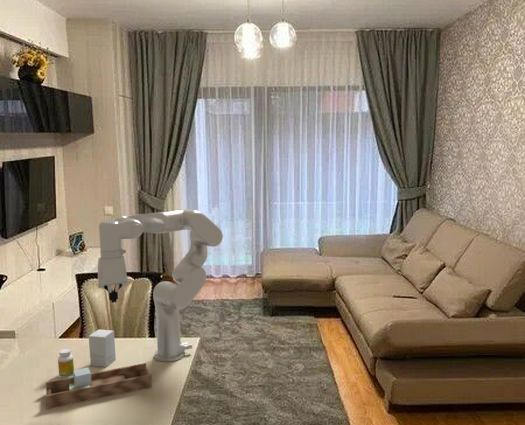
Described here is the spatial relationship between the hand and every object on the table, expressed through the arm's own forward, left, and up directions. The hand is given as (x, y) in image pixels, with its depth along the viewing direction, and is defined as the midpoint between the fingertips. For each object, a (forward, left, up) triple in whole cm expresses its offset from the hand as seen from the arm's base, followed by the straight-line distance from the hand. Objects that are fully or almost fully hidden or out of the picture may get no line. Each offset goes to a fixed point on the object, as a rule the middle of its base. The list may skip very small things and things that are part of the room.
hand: (113, 301), depth 181 cm
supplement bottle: (+18, -8, -29) cm, 35 cm away
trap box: (+7, +10, -29) cm, 32 cm away
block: (+13, +11, -27) cm, 31 cm away
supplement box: (+4, -13, -29) cm, 32 cm away
